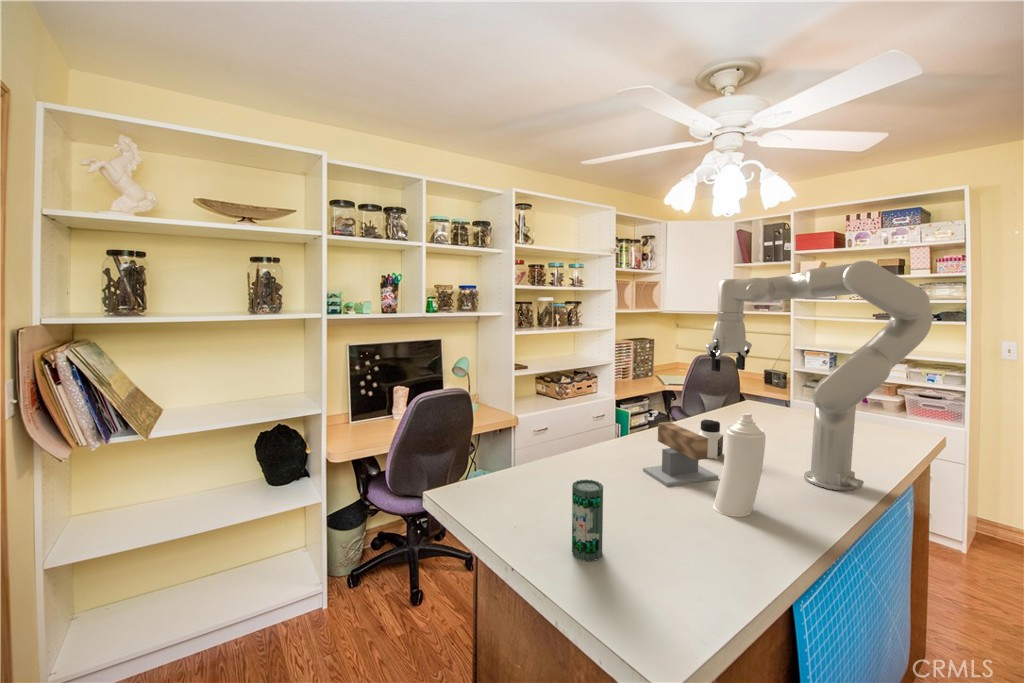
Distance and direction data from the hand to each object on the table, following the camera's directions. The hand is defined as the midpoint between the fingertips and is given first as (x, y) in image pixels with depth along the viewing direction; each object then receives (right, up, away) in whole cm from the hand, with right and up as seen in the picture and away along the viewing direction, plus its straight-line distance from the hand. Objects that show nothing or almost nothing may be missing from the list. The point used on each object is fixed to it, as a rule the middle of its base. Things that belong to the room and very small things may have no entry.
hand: (728, 370), depth 148 cm
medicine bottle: (-3, -30, +8) cm, 31 cm away
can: (-55, -36, -51) cm, 83 cm away
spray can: (-13, -34, -31) cm, 47 cm away
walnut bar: (-19, -24, -10) cm, 32 cm away
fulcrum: (-19, -32, -9) cm, 38 cm away
